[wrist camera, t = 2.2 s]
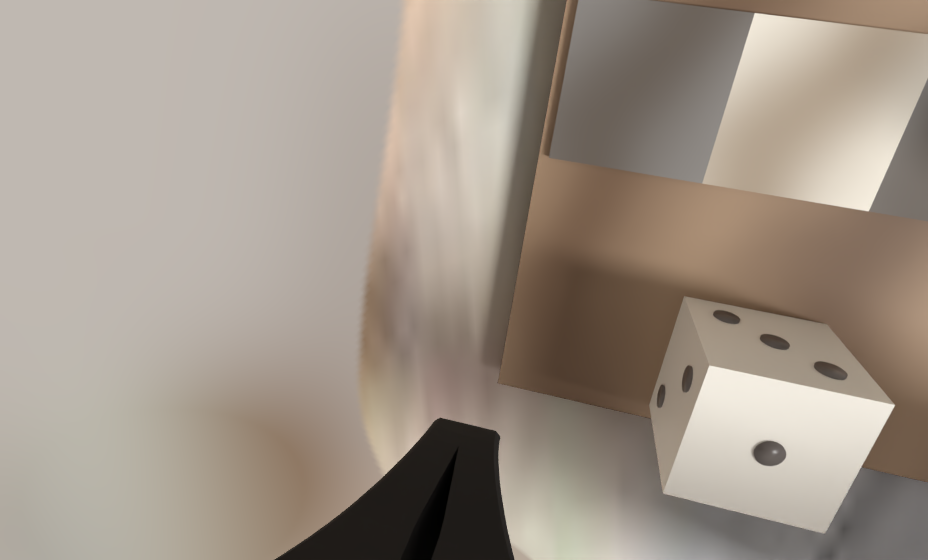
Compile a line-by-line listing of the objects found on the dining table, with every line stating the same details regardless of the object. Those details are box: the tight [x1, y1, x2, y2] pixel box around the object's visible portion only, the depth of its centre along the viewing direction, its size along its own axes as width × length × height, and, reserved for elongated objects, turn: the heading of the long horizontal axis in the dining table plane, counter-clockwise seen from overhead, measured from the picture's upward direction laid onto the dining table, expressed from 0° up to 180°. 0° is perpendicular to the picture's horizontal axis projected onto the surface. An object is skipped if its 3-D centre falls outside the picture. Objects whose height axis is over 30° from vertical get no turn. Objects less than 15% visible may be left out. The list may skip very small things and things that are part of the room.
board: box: [498, 0, 928, 482], centre depth 15 cm, size 20×16×1 cm
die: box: [649, 296, 895, 534], centre depth 15 cm, size 4×4×4 cm
